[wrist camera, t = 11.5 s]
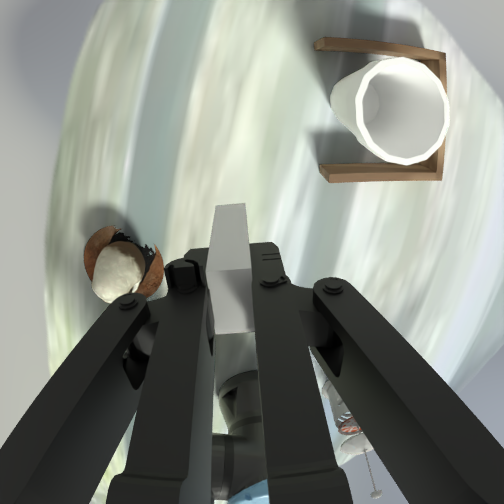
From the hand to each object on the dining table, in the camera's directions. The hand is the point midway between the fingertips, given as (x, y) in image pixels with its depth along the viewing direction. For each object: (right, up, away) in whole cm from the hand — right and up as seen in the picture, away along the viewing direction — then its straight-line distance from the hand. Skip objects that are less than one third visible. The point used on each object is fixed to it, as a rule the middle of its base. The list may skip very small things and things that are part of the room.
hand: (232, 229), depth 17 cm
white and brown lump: (-17, -3, +27) cm, 32 cm away
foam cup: (+13, +17, +17) cm, 27 cm away
